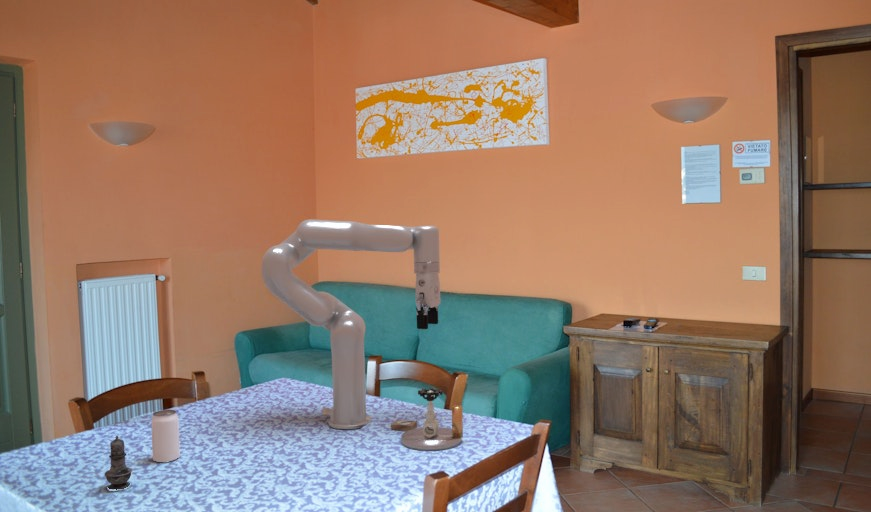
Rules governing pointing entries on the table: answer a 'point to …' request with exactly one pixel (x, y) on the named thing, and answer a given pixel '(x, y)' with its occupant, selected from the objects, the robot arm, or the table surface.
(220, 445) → the table surface
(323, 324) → the robot arm
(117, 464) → the salt shaker
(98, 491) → the table surface
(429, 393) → the valve
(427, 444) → the handwheel
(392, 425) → the dial pad
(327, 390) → the table surface
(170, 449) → the can
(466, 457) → the table surface
